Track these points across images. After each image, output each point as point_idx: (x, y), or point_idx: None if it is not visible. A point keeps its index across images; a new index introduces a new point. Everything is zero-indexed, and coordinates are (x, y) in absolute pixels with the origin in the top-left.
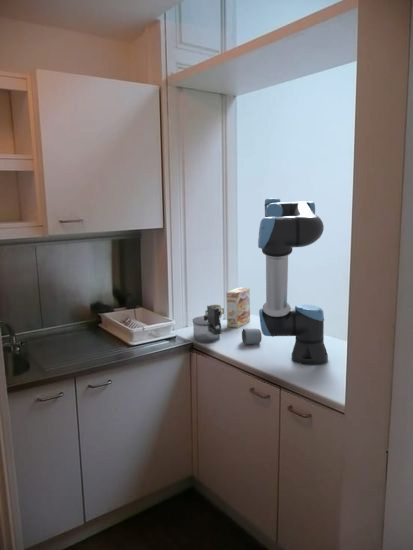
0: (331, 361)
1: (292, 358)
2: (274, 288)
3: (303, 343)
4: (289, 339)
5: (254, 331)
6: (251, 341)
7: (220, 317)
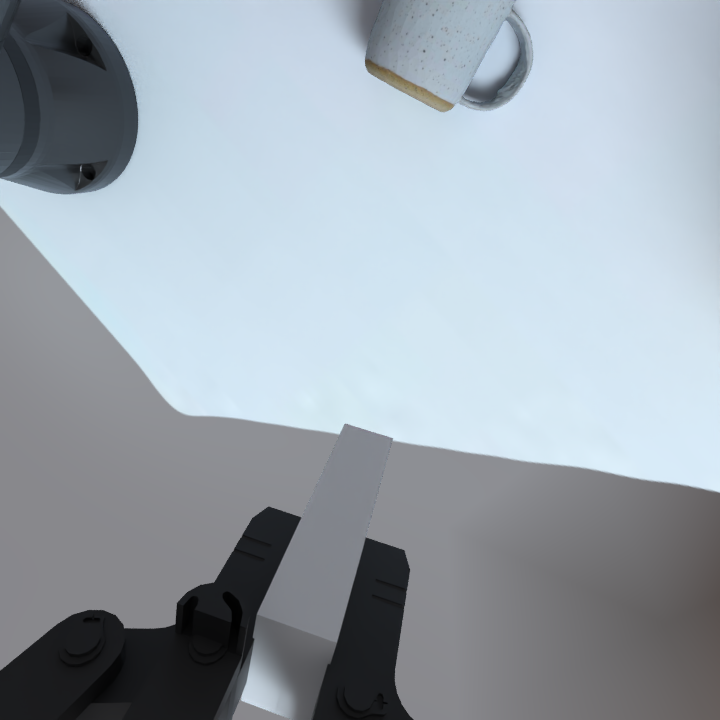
0: None
1: (69, 4)
2: None
3: None
4: (337, 276)
5: (393, 15)
6: None
7: None
